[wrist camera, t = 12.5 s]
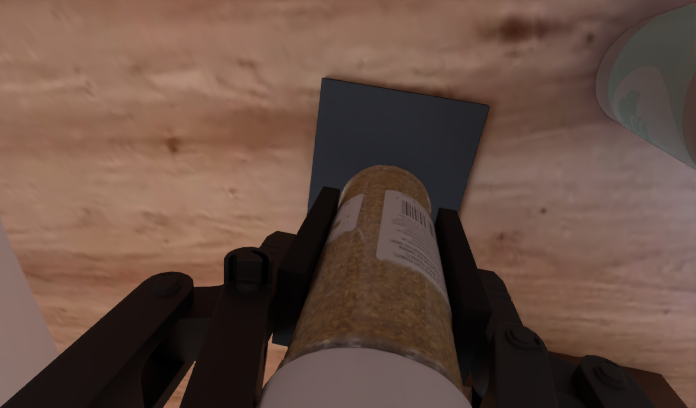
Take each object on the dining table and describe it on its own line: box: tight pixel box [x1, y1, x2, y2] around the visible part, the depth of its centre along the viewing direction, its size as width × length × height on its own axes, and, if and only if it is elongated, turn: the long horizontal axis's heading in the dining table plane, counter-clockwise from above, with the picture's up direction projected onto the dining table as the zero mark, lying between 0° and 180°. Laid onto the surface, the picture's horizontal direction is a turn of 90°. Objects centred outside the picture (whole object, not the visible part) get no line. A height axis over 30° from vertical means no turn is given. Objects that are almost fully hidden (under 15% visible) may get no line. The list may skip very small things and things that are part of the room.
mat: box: [307, 78, 490, 225], centre depth 23 cm, size 10×10×1 cm
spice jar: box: [255, 165, 472, 408], centre depth 12 cm, size 5×5×14 cm
